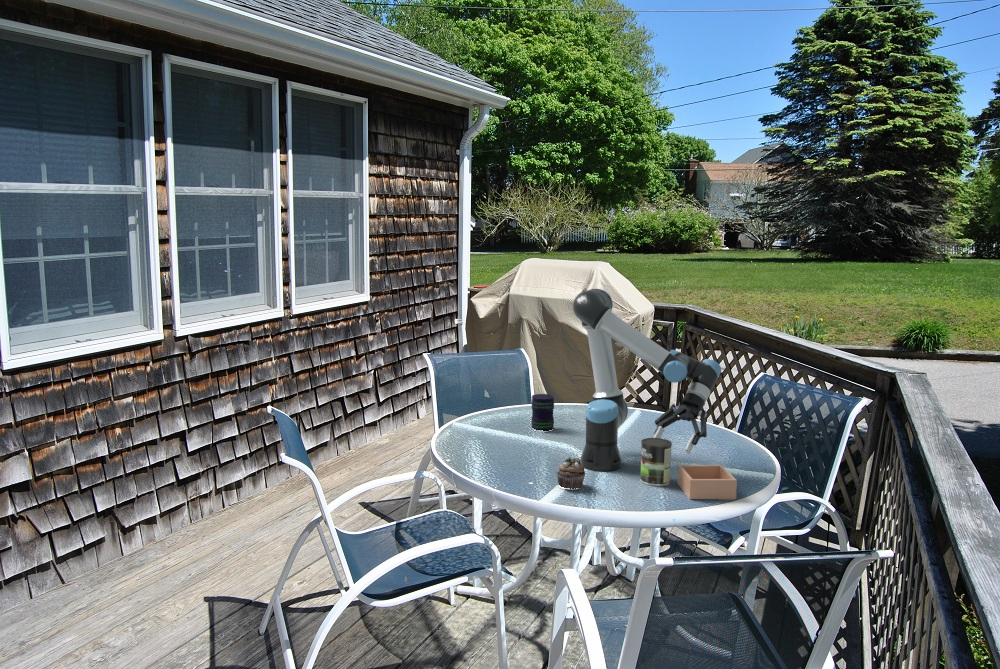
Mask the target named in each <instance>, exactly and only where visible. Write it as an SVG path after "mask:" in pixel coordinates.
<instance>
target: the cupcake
mask: <svg viewBox="0 0 1000 669" xmlns="http://www.w3.org/2000/svg"><path fill="white" fill-rule="evenodd" d="M585 476H586V470H585V467H584V466H583V465H582V464H581V458H579V457H576V458H571V457H568V458H566V459H565V460H564V462H563V463H561V464H559V467H558V470H557V471H556V478H557V484H558V486H559V485H560V486H561V487H564V488H570V489H571V488H572V489H574V488H575V489H576V488H581V487H582V488H583V484H584V481H585ZM582 488H581V489H582Z"/></svg>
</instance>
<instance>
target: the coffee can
mask: <svg viewBox="0 0 1000 669" xmlns="http://www.w3.org/2000/svg"><path fill="white" fill-rule="evenodd" d="M640 442H641V443H640V444H641V451H640V452H641V453H640V454H641V455H640V456H641V458H640V476H639V478H640V479H639V480H640V482H641V483H642V484H644V485H646V486H651V487H664V486H669V485H670V484H671V462H672V446H673V443H672V441H671V440H668V439H665V438H662V437H661V438H653V437H645V438H643V439H642V440H641V441H640Z"/></svg>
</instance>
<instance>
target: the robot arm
mask: <svg viewBox="0 0 1000 669" xmlns="http://www.w3.org/2000/svg"><path fill="white" fill-rule="evenodd" d="M613 304H614V303H613V299H612V297H611V295H610V294H609V293H608V291H605V290H603V289H600V288H591V289H587V290H584V291H582V292H580V293H578V294H577V296H576V297H575V298H574V299H573V304H572V308H573V313H574V315H575V316H576V318H577V319H579V321H580V322H581V325H582V328H584V329H585V330H586V332H587V339H588V347H589V354H590V361H591V366H592V373H593V380H594V388H595V392H594V393H593V394H592V400H591V401H590V402H589V403H587V405H586V410H585V444H584V448H583V450H582V453H581V455H580V460H581V462H580V463H581V464H582V465H583V466H584V469H587V470H592V471H598V472H608V471H615V470H619V469H620V468H621V467H622V464H623V460H622V456H621V453H620V449H619V446H618V439H619V437H618V433H619V432H618V431H619V428H620V426H622V425H623V424H624V423H625V421H626V419H627V417H628V414H629V406H628V404H627V402H626V401H625V398H624V393H623V391H622V390H621V389H620V388H619V384H618V378H617V372H616V371H617V370H616V363H615V357H614V350H613V344H612V340H614V341H615V342H617V343H618V344H619V345H621V346H622V347H624V348H625V349H627V350H628V351H629V352H631V353H632V354H633V355H636V356H637V357H638V358H640V359H641V360H642V361H644V362H646V363H647V364H648V365H649V366H652V368H654V369H656V370H657V371H658V372H660V373H661V374H663V376H664V377H665V379H666V380H667V381H668V382H670V383H674V384H675V383H679V382H681V381H683V380H684V379H687V380H690V381H691V383H690V384H689V387H688V388H687V391H686V393H685V395H684V396H683V398H682V400H681V403H680V405H679V406H678V405H676V404H675V403H672V404H671V405H670V407H669V408H668V409H667V410H666V411H665V412H664V413H663V414H661V415H660V416H658V418H656V419H655V420H654V424H655V425H656V429H655V430H654V433H653V434H654V436H652V438H661V439H662V436H663V434H664V432H665V429H666V428H667V427H668V426H670V425H672V424H674V423H676V422H677V421H687V422H691V424H692V427H693V430H694V433H692V434H691V436H690V438H689V440H688V442H687V444H686V446H685V448H684V450H685V451H686V453H687V454H689V455H690V454H691V453H692V450H693V449H694V446H696V445H698V443H699V441H700V439H701V438H707V437H708V434H707V433H708V432H707V428H708V427H707V418H708V417H709V416H708V413H707V411H706V409H703V408H704V407H705V405H706V402H707V401H708V399H709V396H710V395H711V393H712V390H713V389H714V387H715V385H716V383H717V382H718V379H719V376H720V374H721V372H722V367H721V365H720V364H719V362H717V361H716V360H714V359H709V358H706V359H704V360H702V361H699V360H697V359H695V358H693V357H690V356H689V355H686V354H684V353H682V352H681V351H677V350H675V349H671V350H670V351H668V350H667V349H665V348H664V347H662V346H661V345H659V344H658V343H656V342H655V341H654V340H652V339H651V338H650V337H647V336H646V335H645V334H644V333H642V332H641V331H639V330H637V329H636V328H635V327H633V326H632V325H630V324H629V323H628V322H626V321H625V320H623V319H622V318H621V317H619V316H617V315H616V314H614V313H613V311H612V310H613ZM698 417H700V418H699V420H700V421H699V422H700V427H699V426H698V425H699V424H698V421H697V418H698Z"/></svg>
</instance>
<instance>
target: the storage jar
mask: <svg viewBox="0 0 1000 669" xmlns="http://www.w3.org/2000/svg"><path fill="white" fill-rule="evenodd" d="M554 399H555V396H554V395H552V394H548V393H538V394H537V393H535V394H533V395H531V409H532V410H531V411H532V412H531V413H532V416H531V423H530V424H531V429H532V428H534V429H536V430H543V431H549V430H552V429H554V425H555V417H554V409H555V400H554Z"/></svg>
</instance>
